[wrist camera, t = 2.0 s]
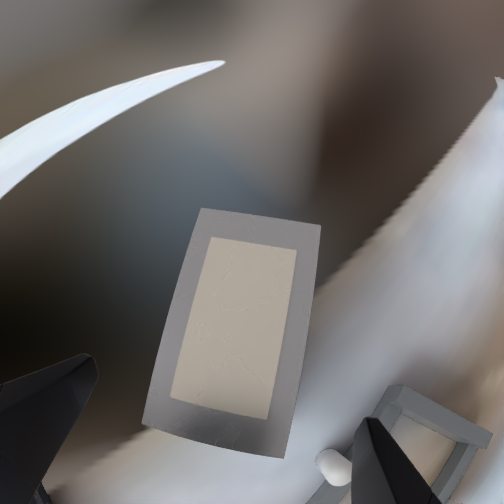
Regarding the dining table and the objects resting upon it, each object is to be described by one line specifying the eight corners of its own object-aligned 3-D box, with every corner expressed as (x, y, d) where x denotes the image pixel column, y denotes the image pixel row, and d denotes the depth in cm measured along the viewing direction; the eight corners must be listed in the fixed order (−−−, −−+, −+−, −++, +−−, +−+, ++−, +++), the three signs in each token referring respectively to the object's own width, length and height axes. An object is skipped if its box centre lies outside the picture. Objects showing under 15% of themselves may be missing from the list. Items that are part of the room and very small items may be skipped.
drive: (273, 422, 16) (283, 459, 7) (203, 407, 17) (140, 423, 8) (295, 303, 20) (321, 224, 10) (229, 292, 20) (200, 206, 11)
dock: (405, 555, 10) (424, 572, 7) (271, 509, 13) (272, 531, 10) (484, 438, 13) (512, 439, 10) (370, 375, 17) (391, 371, 14)
